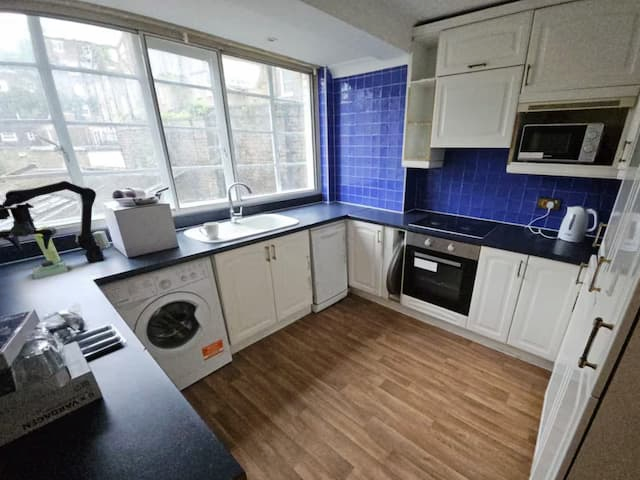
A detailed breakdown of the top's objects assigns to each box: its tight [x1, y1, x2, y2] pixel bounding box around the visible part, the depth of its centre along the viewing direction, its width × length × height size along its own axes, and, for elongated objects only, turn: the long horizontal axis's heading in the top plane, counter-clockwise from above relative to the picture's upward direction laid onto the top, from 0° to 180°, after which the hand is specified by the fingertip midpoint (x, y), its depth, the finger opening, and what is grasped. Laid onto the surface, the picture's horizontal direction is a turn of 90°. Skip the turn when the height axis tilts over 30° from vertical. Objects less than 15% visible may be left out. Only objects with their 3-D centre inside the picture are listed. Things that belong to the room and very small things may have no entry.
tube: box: [32, 225, 61, 263], centre depth 157 cm, size 6×5×20 cm
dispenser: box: [32, 262, 69, 280], centre depth 147 cm, size 12×10×4 cm
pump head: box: [40, 260, 54, 267], centre depth 146 cm, size 4×4×2 cm
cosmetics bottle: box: [92, 230, 111, 250], centre depth 180 cm, size 5×4×10 cm
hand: (34, 249), depth 143 cm, fingers open, 9 cm apart
